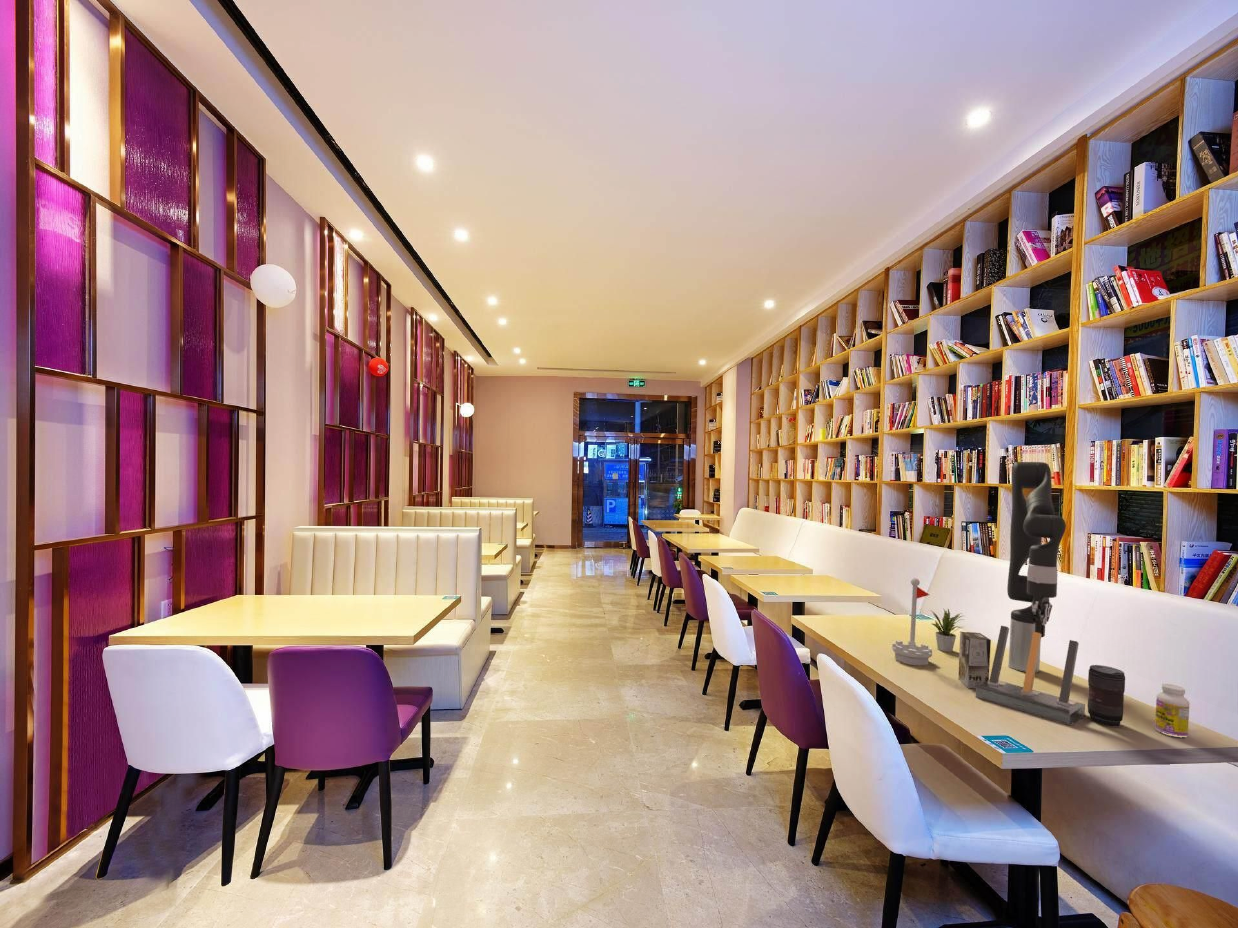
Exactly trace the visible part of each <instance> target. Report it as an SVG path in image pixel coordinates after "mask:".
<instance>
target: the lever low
mask: <svg viewBox="0 0 1238 928" xmlns="http://www.w3.org/2000/svg"><path fill="white" fill-rule="evenodd" d="M1009 634H1010V628H1009V627H1008V626H1006V625H1000V629H999V634H998V638H997V644H996V648H995V653H994V658H993V663H992V667H991V670H990V675H989V680H988V682H987V684H988V685H990V686H993V687H997V688H998V687H999V683H998V681H1000V676H1001V670H1002V665H1003V661H1004V655H1005V651H1006V646H1007V642H1008V637H1009Z"/></svg>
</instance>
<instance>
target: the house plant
mask: <svg viewBox="0 0 1238 928" xmlns="http://www.w3.org/2000/svg"><path fill="white" fill-rule="evenodd" d="M942 609H943V611H944V612H943V617H942V620H940V617H938V615H937V614H936V613H935V612H934V611H933V610H930V609H929V611H930V612H931V613H932V615H933V616H934V617H935V619H934V622H935V623H931V625H932V626H934V627H935V628H936V629H937V630H938V631H936V632H935V638H936V648H937V650H939V651H941V652H945V653H952V652H953V650H954V646H955V642H956V638H957V635H956V634H954V632H956V631H957V630H959V629H963V630H964V627H962V626H956V623H958V622H959V621H962V620H963V621H964V619H960V618H963V617H964V615H962V614H963V612H961V613H960V612H959V613H957V614H956V615H954V616H953V617H951V613H950V609H949V608H947V610H945V608H942ZM955 621H956V622H955ZM956 628H957V629H956ZM955 629H956V630H955ZM953 630H954V631H953Z"/></svg>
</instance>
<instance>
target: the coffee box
mask: <svg viewBox="0 0 1238 928" xmlns="http://www.w3.org/2000/svg"><path fill="white" fill-rule="evenodd" d="M991 642H992V639H990V638H989V637H987V636H985V635H984V634H982V632H981V633H980V632H972V631H960V632H959V654H958V680H959V681H960V682H961V683H962V684H963V685H964V686H965V687H966V688H968V689H975V690H976V687H978V685H982V684H984V683H986V682H988V680H990V663H991V662H990V661H991V644H992V643H991Z"/></svg>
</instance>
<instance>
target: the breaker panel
mask: <svg viewBox="0 0 1238 928" xmlns="http://www.w3.org/2000/svg"><path fill="white" fill-rule="evenodd" d="M998 683H999V687H998V688H997V687H993V686H990V685H988V684H987V682H986V683H984V684H982V685H978V687H976V689H975V698H976V699H977V698H978V699H981V700H984V701H987V702H990V703H994V704H997V705H1000V706H1004V707H1008V708H1010V709H1014V710H1016V711H1017V710H1018V711H1021V712H1024V713H1028V714H1030V715H1034V716H1038V717H1041V718H1044V719H1048V720H1050V721H1054V722H1058V723H1061V724H1064V725H1067V726H1071V725H1072V724H1074V723H1075V722H1077V721H1078V720H1079V719H1081V718H1082V717H1083V716H1085V714H1086V704H1085V703H1083V702H1078V701H1075V700H1071V699H1069V702H1068V703H1070V707H1069V708H1068V707H1064V706H1061V705H1057V700H1059V697H1060V696H1056V695H1053V694H1050V693H1046V692H1042V691H1038V690H1035V689H1032V693H1033V697H1029V696H1025V695H1022V694H1021V690H1023V686H1020V685H1016V684H1013V683H1009V682H1007V681H1003V680H999V681H998Z"/></svg>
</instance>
